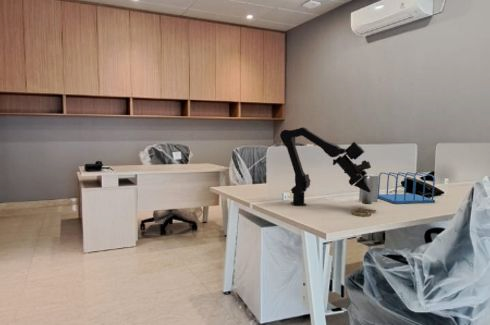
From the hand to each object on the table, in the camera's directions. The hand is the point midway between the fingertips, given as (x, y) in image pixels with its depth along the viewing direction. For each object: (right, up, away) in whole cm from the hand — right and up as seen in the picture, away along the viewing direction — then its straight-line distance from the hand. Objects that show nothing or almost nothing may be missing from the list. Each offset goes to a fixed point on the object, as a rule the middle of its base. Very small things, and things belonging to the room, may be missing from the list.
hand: (370, 191), depth 165 cm
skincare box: (+8, -8, +25) cm, 28 cm away
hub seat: (-6, -11, -6) cm, 14 cm away
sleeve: (-1, -6, +1) cm, 6 cm away
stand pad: (-1, -10, +2) cm, 10 cm away
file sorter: (+30, -8, +32) cm, 45 cm away
